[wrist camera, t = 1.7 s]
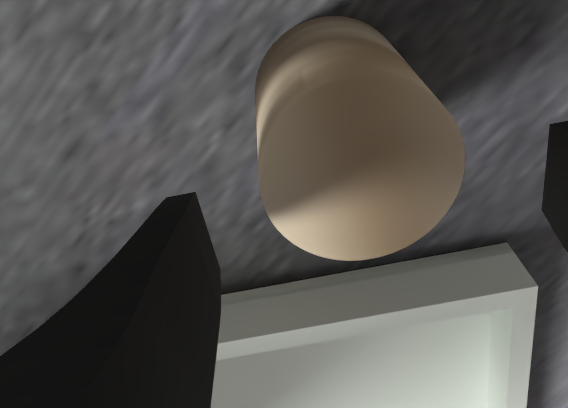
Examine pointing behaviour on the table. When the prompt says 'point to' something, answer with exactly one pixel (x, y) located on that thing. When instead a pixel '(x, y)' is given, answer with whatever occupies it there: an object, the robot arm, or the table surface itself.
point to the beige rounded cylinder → (351, 142)
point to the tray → (383, 337)
